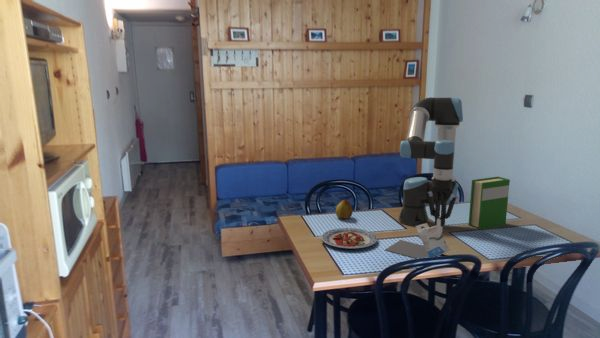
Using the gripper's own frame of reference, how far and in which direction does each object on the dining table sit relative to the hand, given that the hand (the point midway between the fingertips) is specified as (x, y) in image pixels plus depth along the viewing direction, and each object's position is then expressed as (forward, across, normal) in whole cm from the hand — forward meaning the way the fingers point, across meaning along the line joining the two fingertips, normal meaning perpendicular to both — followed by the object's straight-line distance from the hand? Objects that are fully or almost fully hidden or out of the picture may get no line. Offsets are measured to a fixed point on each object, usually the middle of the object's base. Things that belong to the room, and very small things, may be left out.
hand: (439, 232), depth 184 cm
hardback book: (+11, +4, +55) cm, 56 cm away
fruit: (+11, -60, +19) cm, 64 cm away
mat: (+11, -12, 0) cm, 16 cm away
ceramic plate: (+11, -40, -8) cm, 42 cm away
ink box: (+9, +1, 0) cm, 9 cm away
